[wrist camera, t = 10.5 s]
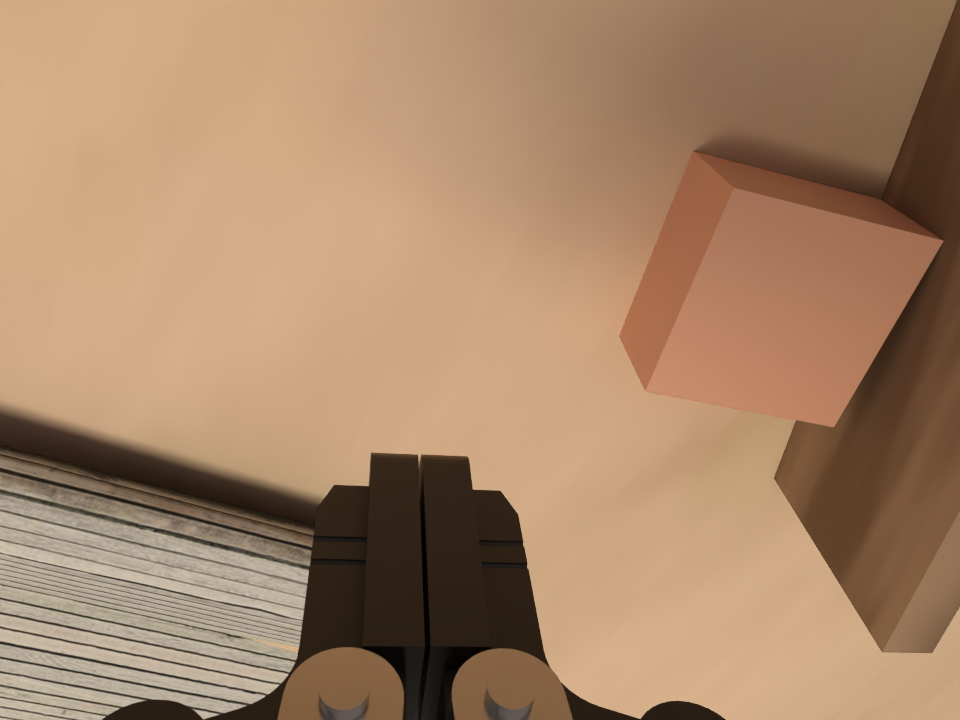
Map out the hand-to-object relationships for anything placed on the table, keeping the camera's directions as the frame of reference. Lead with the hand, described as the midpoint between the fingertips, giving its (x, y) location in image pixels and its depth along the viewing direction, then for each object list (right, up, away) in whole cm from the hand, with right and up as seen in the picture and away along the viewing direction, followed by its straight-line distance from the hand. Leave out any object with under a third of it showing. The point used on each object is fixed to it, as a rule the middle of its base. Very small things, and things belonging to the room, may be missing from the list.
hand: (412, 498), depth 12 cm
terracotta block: (+12, +6, +20) cm, 24 cm away
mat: (-16, -12, +28) cm, 34 cm away
